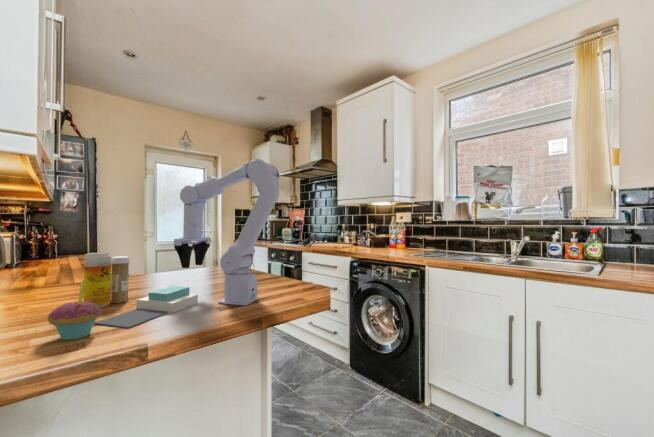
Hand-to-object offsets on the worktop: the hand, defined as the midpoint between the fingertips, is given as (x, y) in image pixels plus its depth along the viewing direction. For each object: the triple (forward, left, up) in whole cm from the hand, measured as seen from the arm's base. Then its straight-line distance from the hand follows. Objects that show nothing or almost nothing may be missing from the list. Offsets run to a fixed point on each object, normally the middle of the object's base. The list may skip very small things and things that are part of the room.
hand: (192, 266), depth 96 cm
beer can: (+18, +16, -10) cm, 26 cm away
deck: (0, +10, -10) cm, 14 cm away
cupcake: (+2, +34, -10) cm, 36 cm away
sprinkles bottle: (+17, +11, -10) cm, 22 cm away
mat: (0, +22, -10) cm, 24 cm away
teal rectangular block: (0, +10, -7) cm, 12 cm away
